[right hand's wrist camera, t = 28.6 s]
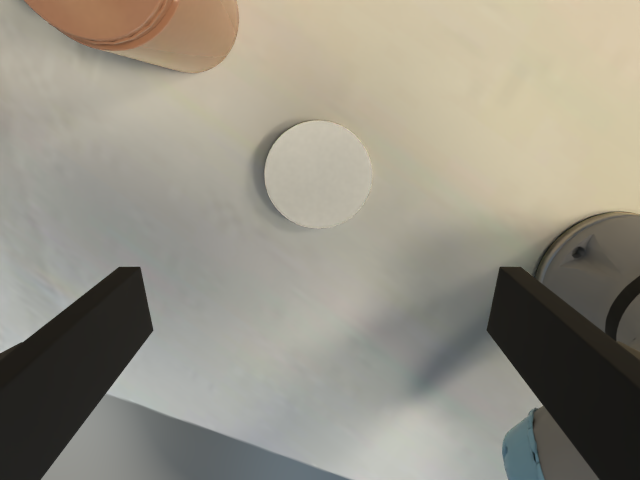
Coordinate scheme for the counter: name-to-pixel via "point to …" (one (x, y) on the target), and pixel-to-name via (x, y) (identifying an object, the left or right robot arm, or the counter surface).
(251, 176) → the counter surface
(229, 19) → the jar
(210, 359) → the counter surface
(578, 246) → the right robot arm
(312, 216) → the lid
